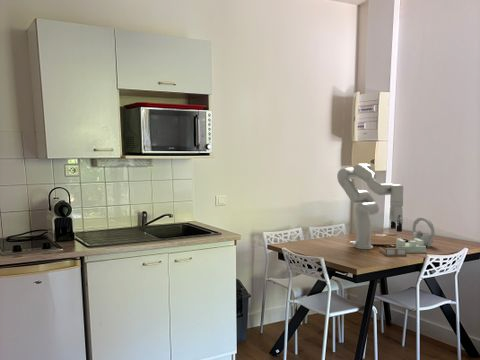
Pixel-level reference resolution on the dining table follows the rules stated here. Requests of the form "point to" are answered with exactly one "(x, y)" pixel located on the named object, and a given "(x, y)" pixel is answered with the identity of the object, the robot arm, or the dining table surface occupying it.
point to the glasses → (393, 251)
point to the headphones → (427, 236)
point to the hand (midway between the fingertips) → (396, 230)
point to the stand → (412, 245)
